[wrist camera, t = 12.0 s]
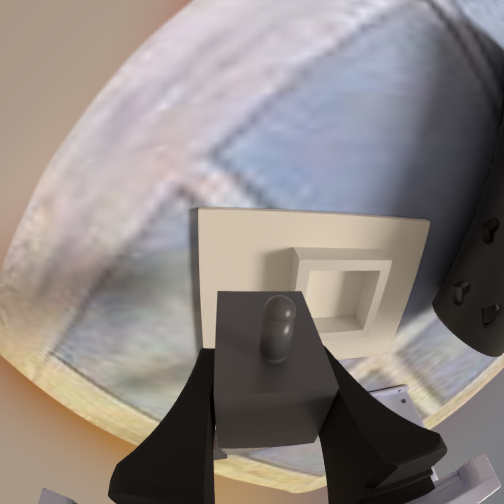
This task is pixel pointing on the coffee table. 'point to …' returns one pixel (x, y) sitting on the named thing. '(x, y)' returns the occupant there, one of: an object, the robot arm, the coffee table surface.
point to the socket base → (315, 268)
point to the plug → (269, 371)
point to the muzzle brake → (479, 270)
